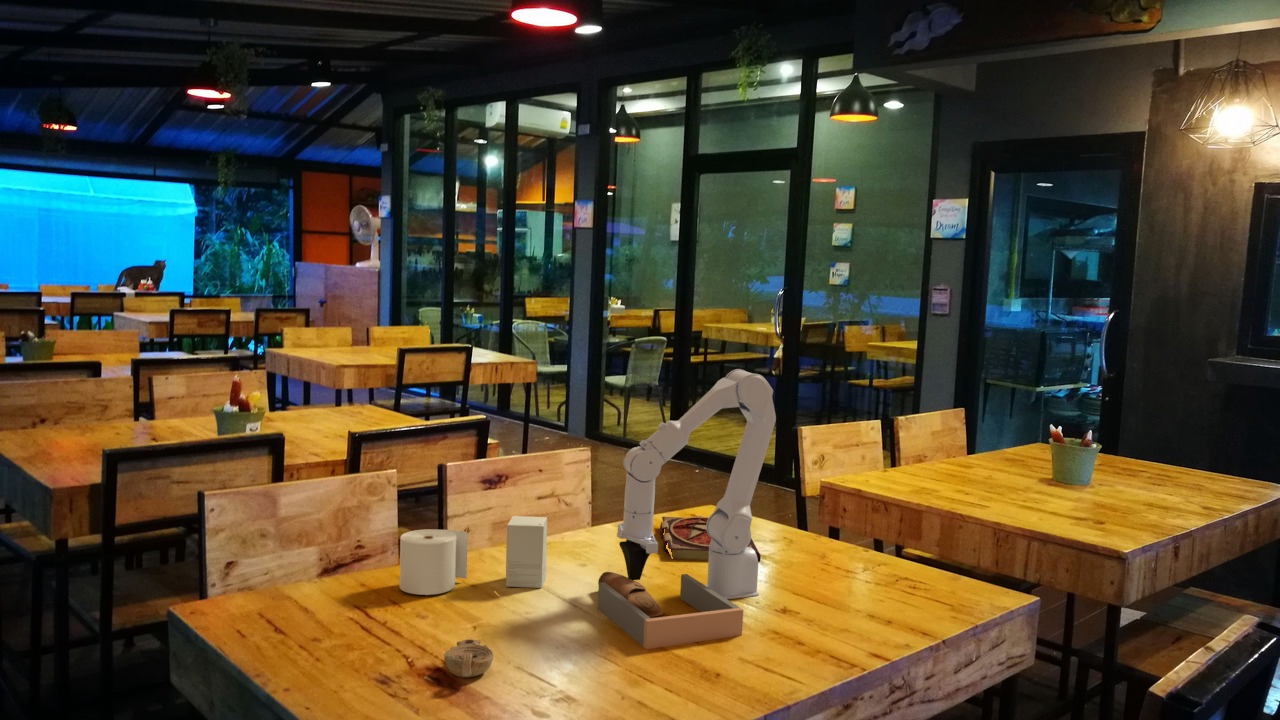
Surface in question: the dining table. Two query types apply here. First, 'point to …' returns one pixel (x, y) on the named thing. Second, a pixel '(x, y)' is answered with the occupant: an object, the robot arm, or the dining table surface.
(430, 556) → the toilet tissue
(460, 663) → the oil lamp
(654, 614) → the sunglasses case
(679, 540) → the book
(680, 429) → the robot arm
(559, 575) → the dining table surface
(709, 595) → the open rectangular frame
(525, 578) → the supplement box
